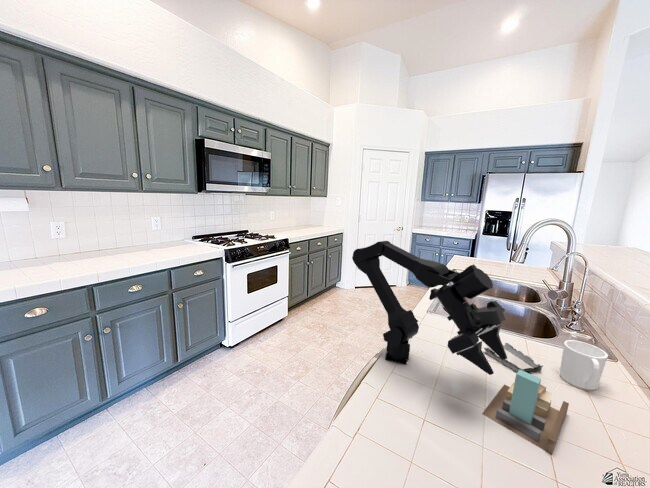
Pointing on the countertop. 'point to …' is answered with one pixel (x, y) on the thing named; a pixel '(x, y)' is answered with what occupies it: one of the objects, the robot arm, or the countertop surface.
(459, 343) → the robot arm
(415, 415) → the countertop surface
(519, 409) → the block
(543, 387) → the rack
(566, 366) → the mug
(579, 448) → the countertop surface
